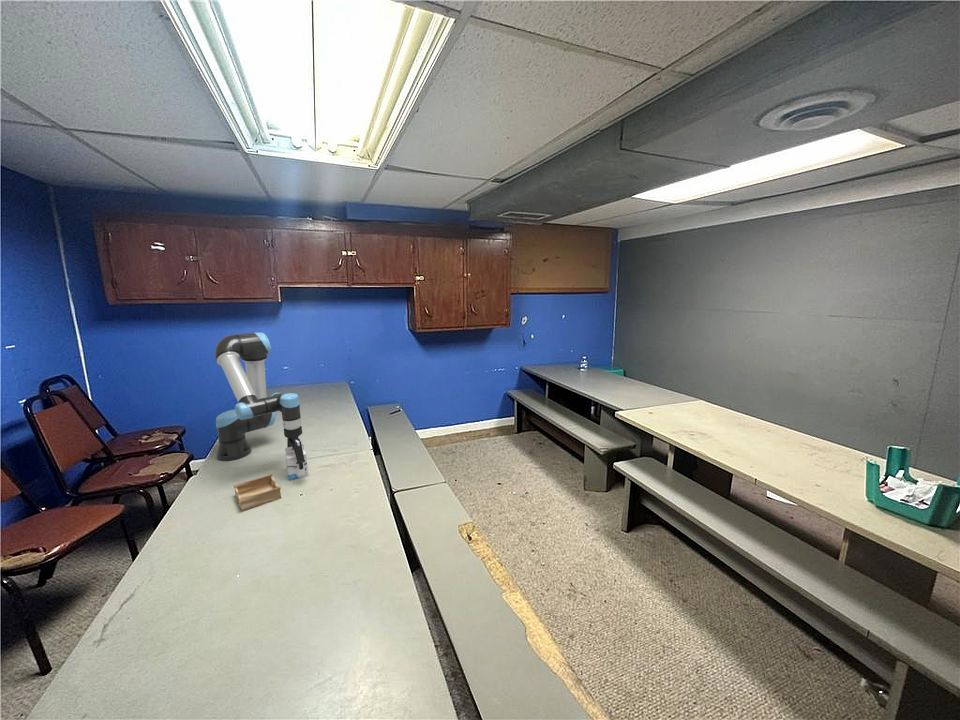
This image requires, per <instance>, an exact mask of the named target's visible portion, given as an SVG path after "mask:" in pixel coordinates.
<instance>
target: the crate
mask: <svg viewBox="0 0 960 720" xmlns="http://www.w3.org/2000/svg"><path fill="white" fill-rule="evenodd" d="M233 489H234V494H235V497H236V500H237V502H238V505H239V508H240V512H241V513H242V512H247V511H248V510H251V509H254V508H257V507H260V506H262V505H267V504H268V503H271V502H274V501H277V500H280V499H282V493H281V486H280V485H279V484H278V483H277V481H276V479H275V478H274V476H273V473H270V474H267V475H264V476H261V477H257V478H254V479H251V480H248V481H243V482H241V483H237V484H235V485H233Z"/></svg>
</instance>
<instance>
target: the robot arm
mask: <svg viewBox="0 0 960 720" xmlns="http://www.w3.org/2000/svg"><path fill="white" fill-rule="evenodd" d="M271 353H272V346H271V342H270V339H269V338H268V336H267V335H266V334H265V333H264V332H254V331H253V332H247V333H239V334H229V335H226V336H224V337H223V338H221V339H220V340H219V341H218V343H217V344H216V346H215V349H214V358H215V361H216V362H217V365H219V366H220V367H221V368H222V371H223V372H224V374H225V377H226V380H227V382H228V383H229V385H230V388H231V390H232V393H233V395H234V397H235V399H236V400H237V403H236V404H235V405H234V409H229V410H227V411H223V412H222V413H220V414H219V415H217V416H216V418H215V427H216V431H217V438H218V447H217V452H216V457H217V460H219V461H223V462H229V461H235V460H240V459H242V458H244V457H246V456H249V454H250V453H252V447H251V445H250V443H249V441H248V440H247V438H246V433H250V432H254V431H257V430H261V429H265V428H268V427H271V426H273V425H274V424H275V423H276V416H277V415H276V413H277V412H280V413H281V417H282V422H281V425H282V426H283V435H284V437H285V438H287V441H286V442H287V443H286V445H287V446H286V448H287V447H292V449H291V450H294V451H295V455H296V459H297V462H296V464H297V470H298V476H301V475H304V474H305V471H304V462H305V459H304V455H303V450H302V440H301V439H300V438H299V437H300V436H301V435H303V426H302V425H303V424H302V416H301V415H302V414H301V407H300V403H301V401H300V398H299V395H298V394H297V393H294V392H293V393H292V392H291V393H290V392H289V393H282V392H274V393H273V394H271V395H270V396H268V395H267V380H266V369H265V368H266V366H265V361H266V360H268V355H269V354H271ZM240 359H241V361H243V362H244V365H245V369H244V367H243V364H242V363H241V361H240Z"/></svg>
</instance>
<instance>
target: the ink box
mask: <svg viewBox="0 0 960 720" xmlns="http://www.w3.org/2000/svg"><path fill="white" fill-rule="evenodd" d="M301 444H302V443H301ZM291 449H292V447H287V446H286V447H284V451H285V454H284V455H285V463H286V474H287V478H288V481H293V480H297V479H301V478H304V477H308V476H309V468H308V459H307V452H306V450H305V444H302V450H303V455H304V459H305V462H304V471H305V474H304V475H301V476H298V470H297V464H296V462H297V459H296V455H295V451H294V450H291Z"/></svg>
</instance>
